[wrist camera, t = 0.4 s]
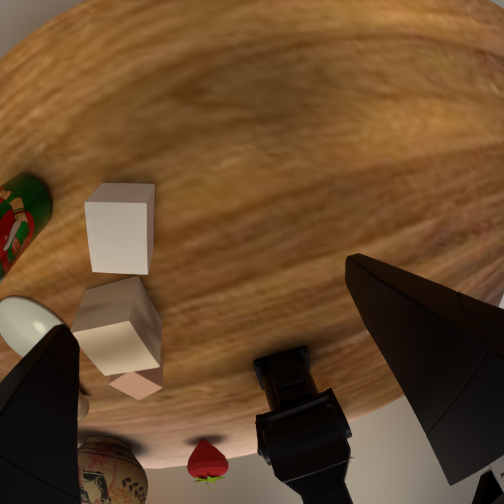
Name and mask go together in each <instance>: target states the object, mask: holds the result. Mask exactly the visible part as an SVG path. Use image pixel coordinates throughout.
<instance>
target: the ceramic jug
mask: <svg viewBox="0 0 504 504" xmlns="http://www.w3.org/2000/svg"><path fill="white" fill-rule="evenodd" d="M78 470H79V484H80V494H81V501H82V504H145V500H146V496H147V491H148V482H147V477H146V473H145V471H144V470H143V467H142V466H141V464H140V463H139V462H138V460H137V459H136V458H135V456H134V455H133V453H132V448H131V446H130V445H129V444H126V443H123V442H121V441H119V440H116V439H113V438H109V437H103V436H91V437H88V438H87V439H86V441H85V442H84V444H83V445H82V446H80V447H79V448H78Z"/></svg>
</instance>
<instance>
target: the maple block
mask: <svg viewBox="0 0 504 504" xmlns="http://www.w3.org/2000/svg"><path fill="white" fill-rule="evenodd" d="M70 331H71V332H72V333H73V335H74V336H75V338H76V339H77V340H78V342H79V346H80V347H81V349H82V350H83V351H84V352H85V354H86V355H87V356H88V357H89V358H90V359H91V361H92V362H93V363H94V364H95V365H96V366H97V368H98V369H99V370H100V371H101V372H102V373H103V374H104V375H113V374H120V373H127V372H133V371H139V370H145V369H151V368H157V367H160V354H161V332H162V320H161V318H160V316H159V315H158V313H157V311H156V309H155V307H154V305H153V303H152V301H151V300H150V298H149V296H148V294H147V292H146V290H145V288H144V286H143V284H142V282H141V280H140V278H139V276H135V277H131V278H128V279H124V280H120V281H117V282H113V283H109V284H106V285H102V286H99V287H95V288H91V289H88V290H86V291H85V293H84V296H83V298H82V301H81V303H80V306H79V309H78V311H77V314H76V316H75V319H74V322H73V325H72V327H71V330H70Z"/></svg>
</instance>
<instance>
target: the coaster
mask: <svg viewBox="0 0 504 504" xmlns="http://www.w3.org/2000/svg"><path fill="white" fill-rule="evenodd" d="M59 324H65V323H64V322H63V321H62V320H61V319H60V318H59V317H58V316H57V315H56V314H55V313H53V312H52V311H51V310H49V309H48V308H46V307H45V306H43V305H42V304H40V303H38V302H36V301H34V300H31V299H29V298H25V297H21V296H10V297H7V298H4V299H3V300H2V301H1V302H0V333H1V335H2V337H3V338H4V340H5V341H6V342H7V343H8V344H9V346H10V347H11V348H12V349H13V350H14V351H16V352H17V353H18V354H19V355H21V356H22V357H24V356H25V355H26V354H27V353H28V352H29V351H30V350H31V349H32V348H33V347H34V346H35V345H36V344H37V342H38V341H39V340H40V339H41V338H42V337H43V336H44V335H45V334H46V333H47V332H48V331H49V330H50V329H51V328H52V327H53V326H55V325H59ZM65 325H66V324H65Z"/></svg>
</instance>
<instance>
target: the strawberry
mask: <svg viewBox="0 0 504 504" xmlns="http://www.w3.org/2000/svg"><path fill="white" fill-rule="evenodd" d="M187 469H188V472H189V474H190V475H192V476H193V477H194V478H196V479H199V480H197V481H195V482H204V481H207V482H216V481H215V480H217V479H222V478H225V477H220V476H221V475H223V474H225V473H226V471H227V470H228V461H227V460H226V458H225V456H224V455H223V454H222V453H221V452H220V451H219V450H218V449H217V448H215V447H214V446H212V445H211V444H210V443H209V442H208V441H206V440H202V441H200V442H199V444H198V445H197V447H196V448H195V449H194V451H193V452H192V454H191V456H190V458H189V460H188V465H187ZM206 485H207V484H206ZM209 488H210V487H209Z"/></svg>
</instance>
